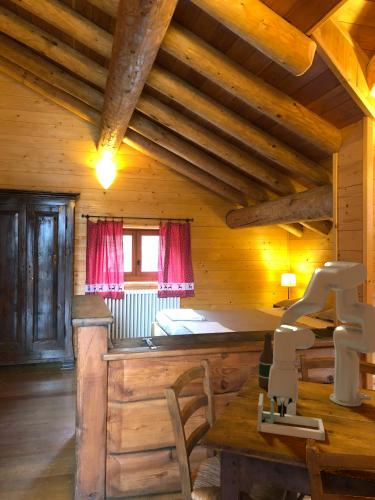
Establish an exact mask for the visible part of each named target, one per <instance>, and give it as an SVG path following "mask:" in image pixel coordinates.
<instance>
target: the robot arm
mask: <svg viewBox="0 0 375 500" xmlns="http://www.w3.org/2000/svg"><path fill="white" fill-rule="evenodd" d="M367 277H368V269H367V267H366V265H365V264H364V263H361V262H355V261H354V262H353V261H352V262H351V261H338V260H337V261H336V260H335V261H334V260H333V261H332V260H331V261H328V262H326V263H324V265H323V267H318V268H316V269H315V270H314V271H313V273H312V275H311V277H310V280H309V282H308V283H307V286H306V288H305V291H304V293H303V295H302V297H301V298H300V299H299V300H297V301H296V302H294V303H293V304H292V305H290V306H289V307H288V308H287V309H286V310H285V311H284V312H283V314H282V315H281V317H280V320H279V322H278V324H277V326H276V329H275V330H274V332H273V348H272V352H273V365H271V367H270V373H269V383H268V388H267V390H268V392H267V394H266V397H267V398H269V399H270V400H271V399H274V403H276V404H277V413H279V414H280V417H284V416H285V414H287V406H288V404H290V403H291V402H292V401H293V402H294V401H296V402H299V396H298V395H299V376H298V369H297V367H300V362H299V361H296V350H306V349H310V348H311V347H313V345H314V344H315V341H316V335H315V333H314V332H313V331H312V329H310V328H308V327H304V326H299V325H296V324H295V323H296V321H298V320H299V319H300V318H302V317H305V316H306V315H310V314H313V313H318V312H320V311H322V310H324V307H325V305H326V302H327V301H328V298H329V295H330V293H331V291H335V306H336V309H335V310H336V318H337V320H338V321H339V322H341V323H343V324H344V323H345V324H348V325H342V324H341V325H338V326H336V327H335V328H334V330H333V332H332V339H333V340H332V341H333V345H334V374H333V375H334V377H333V393H330V394H329V400H330V401H332V402H333V403H334V404H337V405H341V406H344V407H354V408H355V407H359V406H360V407H361V405H362V404H363V400H366V401H371V400H372V399H371V395H369V394H367V393H364V392H363V393H362V392H360V391H359V383H360V381H359V380H360V379H359V378H360V359H359V356H358V353H362V354H367V355H368V354H369V355H370V354H371V355H372V354H374V353H375V306H374V305H373V304H371V303H367V302H360V301H359V293H358V292H359V291H358V288H357V287H358V286H361V285H362V284H364V282H365V281H366V280H367ZM294 324H295V325H294ZM351 325H354V326H351ZM357 326H359V327H357ZM357 352H358V353H357ZM281 397H285V400H284V402H283V407H282V402H281Z"/></svg>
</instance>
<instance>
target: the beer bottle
mask: <svg viewBox="0 0 375 500" xmlns="http://www.w3.org/2000/svg"><path fill="white" fill-rule="evenodd" d="M263 336H264V341H263V347H262V348H263V349H262V351H261V352H260V354H259V358H258V377H257V378H258V387H262V388H265V389H268V383H269V373H270V367H271V365H273V348H272V346H273V344H272V338H273V335H272V333H270V332H264V334H263Z"/></svg>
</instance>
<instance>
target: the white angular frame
mask: <svg viewBox="0 0 375 500" xmlns="http://www.w3.org/2000/svg"><path fill="white" fill-rule="evenodd" d="M263 409H264V393H259V398H258V406H257V429H256V430H257V432H262V433H269V434H276V435H281V436H282V435H283V436H288V437H289V436H291V437H297V438H304V439H310V438H311V440H318V441H323V442H324V441H325V440H326V433H325V432H326V431H325V427H324V424H323V420H322V418H317V417H308V416H302V415H296V416H295V415H288V414H285V416H284V417H280V414H279V413H278V412H274V422H276V423H277V422H278V423H282V424H275V423H273V424H269V423H265V422H263V421H265V418H269V419H270V411H263ZM283 423H285V424H292V425H300V426H306V427H315V428H317V429H312V428H306V427H305V428H304V427H296V426H291V425H290V426H289V425H285V424H283Z"/></svg>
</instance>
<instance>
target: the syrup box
mask: <svg viewBox="0 0 375 500" xmlns="http://www.w3.org/2000/svg"><path fill="white" fill-rule="evenodd" d="M280 398H281V402H282V407H283V402H284V400H285V397H280ZM287 414H288V415H295V416H297V401H294V402H293V401H292V402H291V403H290V404H288V406H287Z"/></svg>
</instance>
